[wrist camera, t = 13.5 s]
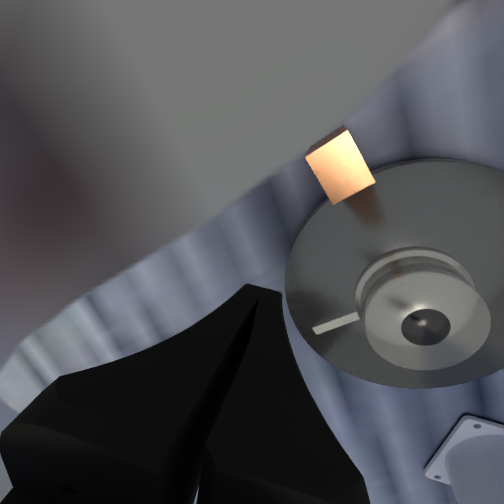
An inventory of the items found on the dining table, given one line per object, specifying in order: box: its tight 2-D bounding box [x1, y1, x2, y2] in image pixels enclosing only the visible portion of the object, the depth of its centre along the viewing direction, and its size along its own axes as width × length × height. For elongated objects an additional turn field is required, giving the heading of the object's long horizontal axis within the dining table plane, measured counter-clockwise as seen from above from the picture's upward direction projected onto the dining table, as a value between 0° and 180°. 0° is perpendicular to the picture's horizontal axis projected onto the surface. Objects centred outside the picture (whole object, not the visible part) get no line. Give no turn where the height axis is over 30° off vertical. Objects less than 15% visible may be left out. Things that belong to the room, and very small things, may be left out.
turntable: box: [285, 125, 504, 389], centre depth 17 cm, size 15×18×4 cm
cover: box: [354, 246, 491, 370], centre depth 17 cm, size 6×6×3 cm
